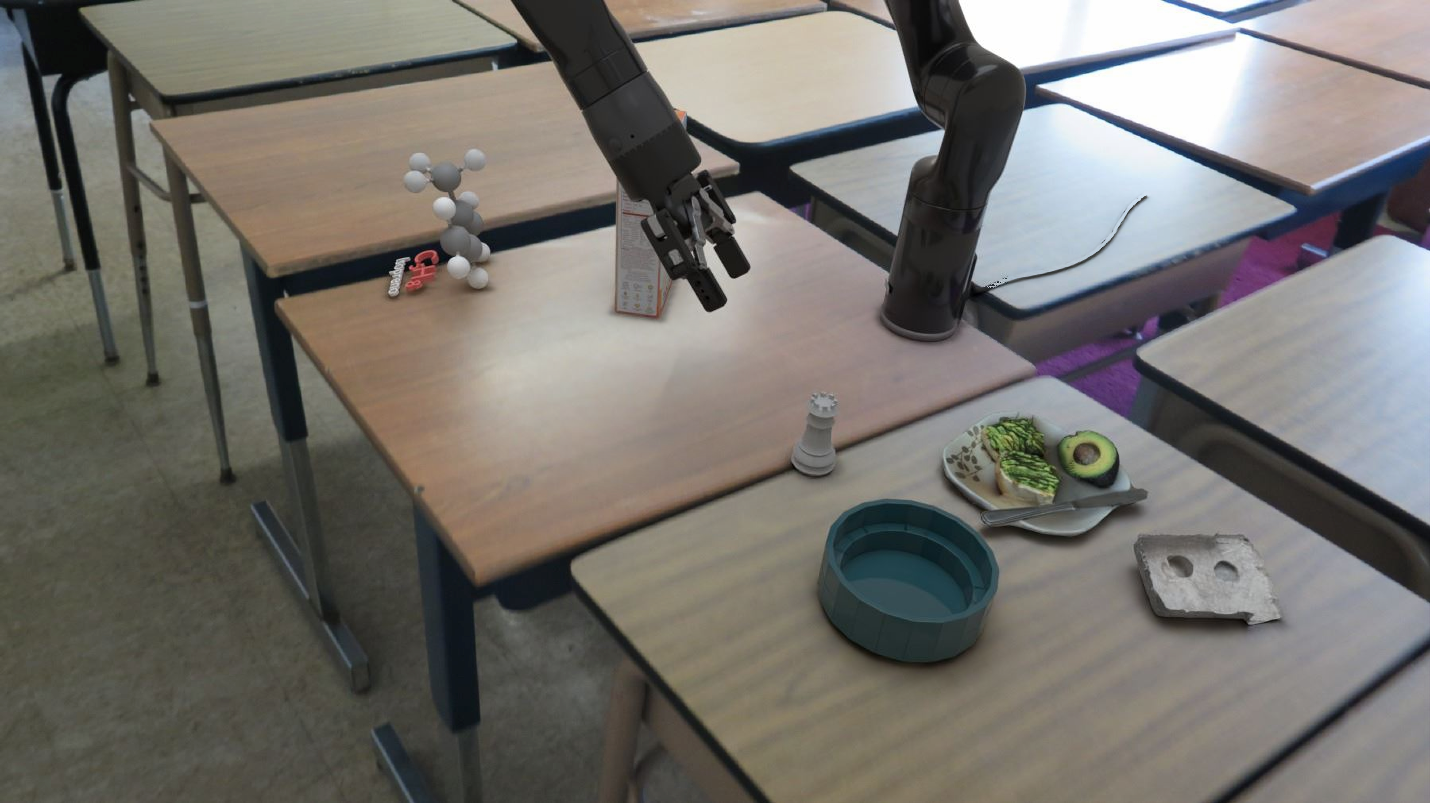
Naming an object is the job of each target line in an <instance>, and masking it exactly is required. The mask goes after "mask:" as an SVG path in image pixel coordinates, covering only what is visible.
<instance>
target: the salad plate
mask: <svg viewBox="0 0 1430 803" xmlns="http://www.w3.org/2000/svg"><path fill="white" fill-rule="evenodd" d="M1117 448H1118V447H1116V446H1115V444H1114V442H1113V441H1112V440H1110V439H1109V438H1108V437H1106V436H1105V435H1103V434H1102V433H1099V432H1096V431H1094V430H1090V429H1089V430H1082V431H1081V430H1077V431H1075V433H1074V434H1071V433H1070V432H1068V431H1066V430H1064V429H1063V428H1060V427H1059V426H1057V425H1056V424H1055V423H1053V422H1050V421H1049V420H1047V419H1045V418H1042V417H1040V416H1038V415H1035V414H1031V413H1029V412H1022V411H1021V412H1020V411H999V412H994V413H992V414H990V415H988V416H986V417H983V419H981V420H979V421H978V422H977V423H975V424H974V425H973V426H971V427H969V429H967V430H965V431H964V432H963V433H961V434H960V435H957V436H956V437H955V438H954V439H953V440H951V441H950V442H949V444H947V445H946V446H945V447H944V449H943V451H942V457H941V464H942V468H943V470H944V474H945V476H946V477H947V479H948V480H949V481H950V483H952V484H953V485H954V486H955V487H956V489H958V491H959V492H960V493H961V495H963V496H964V497H965V498H966V499H967V500H968V501H969V502H970V503H972V504H973V505H976V506H977V507H979V508H981V509H983V510H984V511H982V512H981V514H980V520H981V522H982V523H983V524H984V525H986V526H989V527H1004V526H1012V527H1016V528H1021V529H1025V530H1027V531H1032V532H1035V533H1038V534H1043V535H1050V536H1061V537H1062V536H1063V537H1075V536H1078V535H1082V534H1084V533H1086V532H1087V531H1090V530H1092V529H1093V528H1094V527H1096V526H1098V525H1099V524H1100V523H1101V521H1102V520H1103V519H1105V518H1106V517H1107V515H1109V514H1110V513H1112V511H1114V510H1116V509H1118V508H1121V507H1125V506H1130V505H1133V504H1136V503H1139V502H1142V501H1145V500H1147V499H1148V494H1149V491H1148V490H1146V489H1144V488H1143V487H1142V488H1136V487H1134V486H1133V483H1132V482H1131V479H1130V476H1129V473H1128V472H1127V470H1126V469H1125V468H1124V466H1123V465H1122V464H1121V461H1120V454H1119V451H1118V449H1117Z"/></svg>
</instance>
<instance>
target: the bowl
mask: <svg viewBox="0 0 1430 803" xmlns="http://www.w3.org/2000/svg"><path fill="white" fill-rule="evenodd" d="M999 579H1000V568H999V564H998V562H997V559H996V556H995V553H994V550H993V549H992V548H991V547H990V546H989V544H988V543H987V542H986V540H985V539H984V537H982V535H981V534H980V533H979V532H978V531H977V530H976V529H974V528H973V527H972V526H971V525H969V524H968V523H967V522H966V521H964V520H963V519H961V517H959V516H958V515H955V514H952V513H951V512H948V511H946V510H944V509H942V508H940V507H938V506H935V505H933V504H928V503H925V502H921V501H916V500H913V499H900V498H899V499H898V498H882V499H876V500H875V499H874V500H871V501H864V502H861V503H859V504H857V505H855V506H853V507H851V508H849V509H847V510H845V511H843V512H842V513H841V514H840V515H839V516H838V517H837V518H836V520H835V521H834V522H833V523H832V524H831V525H830V527H829V531H828V534H827V537H826V540H825V544H824V549H823V554H822V558H821V563H820V568H819V574H818V578H817V589H818V595H819V600H820V601H819V602H820V604H821V605H822V608H823V609H824V611H825V613H826V614H827V616H828V618H829V620H830V621H831V623H832V625H834V626H835V627H836V628H837V629H838V630H839V631H841V632H842V633H843V635H845V636H846V637H847V638H848V639H849V640H851V641H852V642H854V643H856V644H857V645H859V646H861V647H863V648H864V649H866V650H868V651H870V652H871V653H874V654H877V655H880V656H884V657H886V658H891V659H894V660H897V661H902V662H908V663H909V662H911V663H933V662H938V661H943V660H946V659H950V658H954V657H956V656H958V655H959V654H961V653H963V652H964V651H965V650H967V649H968V648H970V647H972V646H973V645H974V644H975V643H976V641H977V639H978V638H979V636H980V635H981V633H982V631H983V630H984V629H985V626H986V622H987V620H988V618H989V614H990V612H991V609H992V606H993V604H994V602H995V598H996V595H997V592H998V589H999Z"/></svg>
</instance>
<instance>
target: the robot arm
mask: <svg viewBox="0 0 1430 803" xmlns="http://www.w3.org/2000/svg"><path fill="white" fill-rule="evenodd" d="M510 2H511V3H512V5H513V7H514V8H515V10H516V11H517V12H518V14H519V15H520V17H521V18H522V20H523V21H524V22H525V24H526V25H527V27H528V28H529V30H530V31H531V33H532V34H533V35H534V37H535V38H536V39H537V41H538V42H539V44H540V45H541V46H542V47H543V49H544V50H545V51H546V53H547V54H548V56H549V58H550V59H551V61H552V63H553V65H554V67H555V69H556V71H557V73H558V76H559V77H560V79H561V81H562V83H563V85H564V86H565V87H566V89H567V91H568V93H569V94H570V96H571V98H572V99H573V101H574V102H575V104H576V106H577V107H578V109H579V111H581V115H582V117H583V118H584V121H585V123H586V125H587V128H588V130H589V133H590V134H591V136H592V138H593V140H594V142H595V144H596V145H597V147H598V149H599V150H600V152H601V153H602V156H603V157H604V158H605V160H606V162H607V164H608V166H609V167H610V169H611V170H612V172H613V174H614V175H615V178H616V177H617V179H618V180H619V182H620V184H621V185H622V187H623V189H624V190H625V192H626V194H627V195H628V197H629V199H630V200H631V201H632V202H640V201H643V200H647V201H649V203H650V205H651V208H652V210H653V213H654V214H652V215H651V216H649V217H647V218H645V219H643V220H641V222H640V224H641V227H642V229H643V231H644V233H645V234H646V236H647V238H648V240H649V242H650V243H651V245H652V247H653V249H654V250H655V252H656V254H657V256H658V257H659V259H660V261H661V263H662V265H663V266H664V268H665V270H666V272H667V273H668V275H669V277H670V278H671V280H673V281H672V282H675V281H678V280H679V279H681V280H682V281H685V280H686V281H687V282H688V284H689V286H690V287H691V289H692V291H693V292H694V294H695V296H696V297H697V299H698V301H699V302H700V305H701V306H702V308H703V310H705V312H707V313H712V312H713V313H714V312H715V311H717V310H720V309H721V308H724V307H725V306H726V305H727V303H728V297H727V295H726V294H725V292H724V290H723V288H722V287H721V285H720V283H719V281H718V280H717V278H716V276H715V275H714V273H713V271H712V269H711V268H710V267H709V266H708V263H707V259H706V255H705V251H704V247H705V245H706V243H707V242H709V243H710V244H711V245H712V246H713V245H714V246H713V250H714V252H715V254H716V256H717V257H718V259H719V261H720V263H721V264H722V266H723V268H724V270H725V271H726V273H727V275H728V276H729V278H730V279H733V280H735V279H739V278H740V277H742V276H744V275H746V274H748V273H749V272H750V270H751V268H752V267H751V264H750V262H749V261H748V260H749V259H748V258H747V256H746V255H745V253H744V252H743V250H742V247H741V246H740V245H739V243H738V241H737V239H736V237H735V236H734V235H735V233H736V232H735V228H734V226H733V225H734V224H736V223H737V218H736V215H735V214H734V212H733V210H732V209H731V207H730V206H729V203H728V202H727V201H726V199H725V198H724V195H723V194H722V192H721V190H720V189H719V187H718V185H717V183H716V182H715V180H714V179H713V177H712V175H711V173H710V172H709V171H708V170H707V169H703V170H702V171H700V172H697V173H694V174H693V173H692V172H694V171H695V170H696V169H697V168H699V166H700V165H701V164H702V156H701V154H700V153H699V151H698V149H697V147H696V145H695V144H694V142H693V140H692V139H691V137H690V135H689V133H688V131H687V128H686V129H685V128H684V126H683V124H682V122H681V121H680V119H679V117H678V115H677V114H676V112H675V110H676V109H675V108H674V106H673V104H672V103H671V101H670V100H669V97H668V96H667V94H666V93H665V91H664V90H663V88H662V86H660V84H659V83H658V82H657V80H656V79H655V78H654V77H653V75H652V73H651V71H649V68H648V66H647V65H646V63H645V61H644V59H643V57H642V56H641V54H640V52H639V50H638V49H637V47H636V46H635V44H634V42H633V40H632V39H631V37H630V36H629V34H628V32H627V31H626V29H625V28H624V26H623V25H622V24H621V22H620V21H619V20H618V19H617V17H615V16H614V15H613V13H612V11H611V10H610V8H609V6H608V4H607V3H606V1H605V0H510ZM883 3H884V6H885V8H886V9H887V12H888V15H889V16H890V19H891V20H892V23H893V25H894V28H895V31H896V34H897V38H898V40H899V43H900V48H901V51H902V55H903V59H904V62H905V66H906V71H907V74H908V78H909V82H910V86H911V89H912V93H913V97H914V100H915V101H916V104H917V106H918V108H919V110H920V111H921V114H923V115H924V116H925V117H926V119H927V120H929V121H930V122H931V123H932V124H934V125H936V127H938V128H940V129H941V130H943V131H944V132H943V136H942V140H941V144H940V147H939V150H938V153H937V154H935V155H933V154H932V155H928V156H924V157H922V158H919V159H918V160H917V161H915V163H914V164H913V166H912V167H911V171H910V174H909V179H908V184H907V189H906V194H905V199H904V202H903V208H902V213H901V218H900V222H899V226H898V232H897V237H896V241H895V246H894V251H893V255H892V260H891V265H890V269H889V275H888V278H887V277H885V281H884V288H885V293H884V296H883V297H884V298H883V303H882V304H881V308H880V312H879V317H880V320H881V322H882V324H883V325H884V326H885V327H887V328H888V329H889V330H890V331H892V332H894V333H896V334H897V335H899V336H901V337H905V338H907V339H911V340H916V341H924V342H925V341H926V342H936V341H942V340H945V339H948V338H949V337H951V336H952V335H954V333H955V332H956V329H957V325H959V324H961V322H962V318H963V314H964V310H965V306H966V303H967V302H968V300H969V297H970V294H971V293H973V294H983V293H986V292H989V291H992V290H993V289H996V288H995V287H994V288H993V287H991V288H990V287H989V286H995V285H994V284H992V283H990V284H987V285H985V287H984V286H980V287H976V285H975V283H974V282H973V281H972V280H973V276H974V273H975V269H976V265H977V262H978V254H977V253H976V251H977V247H978V243H979V240H980V236H981V232H982V228H983V224H984V220H985V216H986V212H987V209H988V205H989V201H990V197H991V193H992V192H993V190H994V189H995V187H996V185H997V184H998V183H999V181H1000V179H1001V177H1002V176H1003V174H1004V172H1005V170H1006V167H1007V164H1008V161H1009V157H1010V154H1011V151H1012V148H1013V146H1014V142H1015V139H1016V136H1017V134H1018V130H1019V127H1020V124H1021V120H1022V117H1023V113H1024V109H1025V105H1026V94H1027V87H1026V81H1025V77H1024V75H1023V73H1022V71H1021V70H1020V69H1019V68H1018V67H1017V66H1016V65H1015V64H1014V63H1012V62H1010V61H1009V60H1007V59H1005V58H1003V57H1002V56H1000V55H998V54H996V53H993V52H992V51H990V50H989V49H987V48H985V47H983V46H982V45H981V44H980V43H979V42H978V41H977V40H976V38H975V37H974V34H973V32H972V30H971V29H970V26H969V24H968V22H967V18H966V17H965V13H964V11H963V9H962V5H961V3H960V0H883ZM670 255H672V256H674V259H675V263H676V265H675V264H674V262H673V261H672V259H671V257H670ZM1004 278H1005V277H1003V278H1002V279H1004ZM1005 279H1007V278H1005ZM996 281H997V283H999V281H998V280H996ZM996 281H994V282H993V283H996ZM1000 283H1001V282H1000ZM991 284H992V285H991ZM1005 284H1007V283H1006V282H1005ZM987 286H988V287H989V288H988V287H987ZM996 286H997V285H996ZM1000 286H1001V285H999V286H998V287H1000ZM976 288H977V290H976Z"/></svg>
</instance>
